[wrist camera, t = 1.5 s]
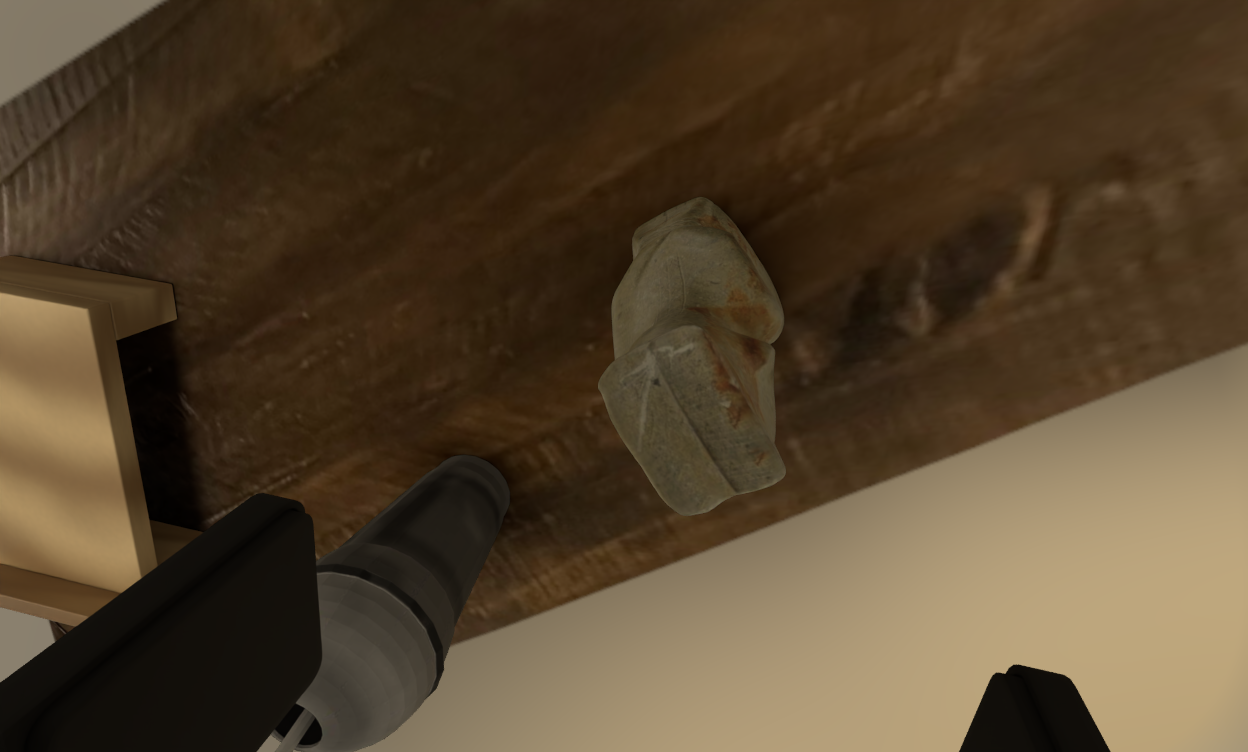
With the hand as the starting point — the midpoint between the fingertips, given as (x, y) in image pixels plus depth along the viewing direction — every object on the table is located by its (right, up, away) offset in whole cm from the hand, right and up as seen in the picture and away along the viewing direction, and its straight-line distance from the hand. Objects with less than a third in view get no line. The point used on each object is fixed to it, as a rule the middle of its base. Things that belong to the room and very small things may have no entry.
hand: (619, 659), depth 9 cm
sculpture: (+4, +8, +21) cm, 23 cm away
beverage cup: (-8, -2, +28) cm, 29 cm away
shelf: (-30, +1, +31) cm, 43 cm away
